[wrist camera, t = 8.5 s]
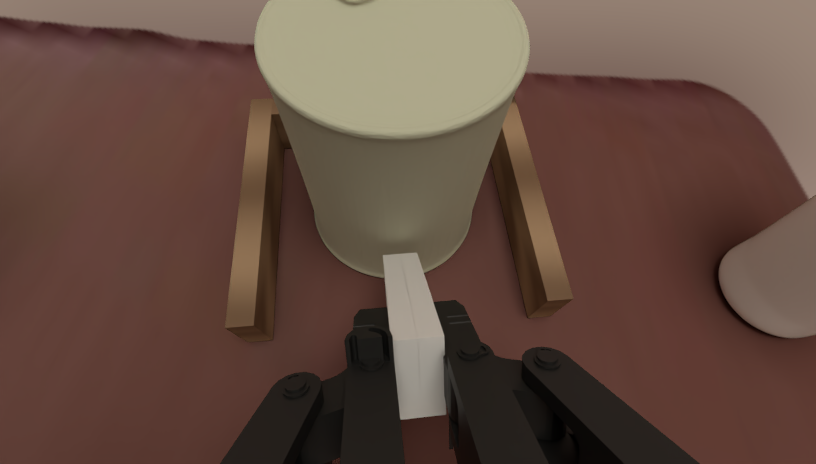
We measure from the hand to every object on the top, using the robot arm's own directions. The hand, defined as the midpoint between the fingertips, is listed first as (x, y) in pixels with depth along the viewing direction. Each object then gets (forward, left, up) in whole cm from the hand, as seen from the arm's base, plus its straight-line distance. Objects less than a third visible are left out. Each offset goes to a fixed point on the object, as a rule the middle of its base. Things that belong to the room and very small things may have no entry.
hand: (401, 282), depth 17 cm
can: (-3, +5, -4) cm, 7 cm away
